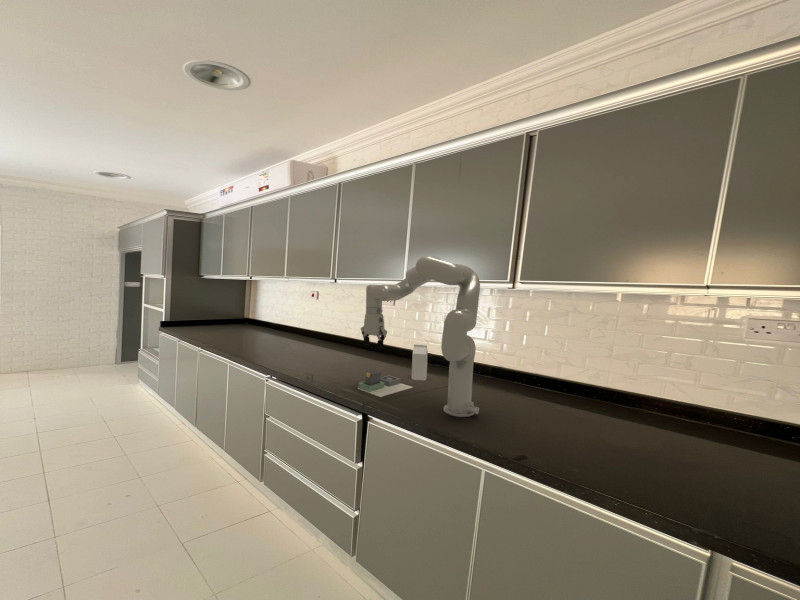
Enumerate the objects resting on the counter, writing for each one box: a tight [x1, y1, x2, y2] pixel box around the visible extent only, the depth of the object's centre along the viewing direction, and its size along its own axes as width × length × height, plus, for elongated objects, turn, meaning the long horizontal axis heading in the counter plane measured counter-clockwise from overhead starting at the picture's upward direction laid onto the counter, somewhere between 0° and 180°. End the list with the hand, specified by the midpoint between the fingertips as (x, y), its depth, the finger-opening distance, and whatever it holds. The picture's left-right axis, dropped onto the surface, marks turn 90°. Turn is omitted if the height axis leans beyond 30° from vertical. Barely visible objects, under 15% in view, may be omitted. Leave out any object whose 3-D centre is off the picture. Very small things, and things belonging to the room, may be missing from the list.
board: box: [357, 374, 413, 398], centre depth 167 cm, size 16×22×4 cm
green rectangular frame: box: [358, 380, 384, 393], centre depth 166 cm, size 8×10×3 cm
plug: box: [364, 368, 382, 385], centre depth 165 cm, size 4×7×8 cm, turn 137°
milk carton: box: [411, 344, 429, 382], centre depth 186 cm, size 7×7×19 cm
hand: (373, 347), depth 165 cm, fingers open, 9 cm apart
